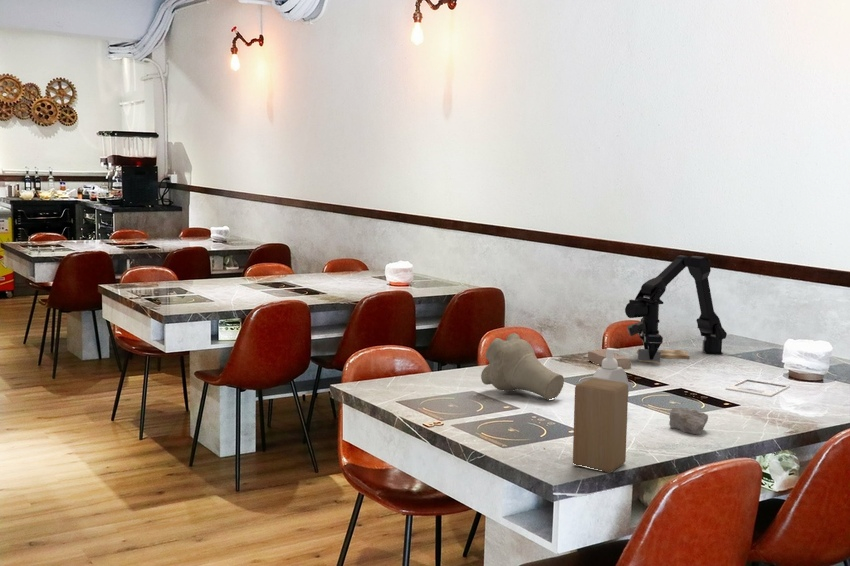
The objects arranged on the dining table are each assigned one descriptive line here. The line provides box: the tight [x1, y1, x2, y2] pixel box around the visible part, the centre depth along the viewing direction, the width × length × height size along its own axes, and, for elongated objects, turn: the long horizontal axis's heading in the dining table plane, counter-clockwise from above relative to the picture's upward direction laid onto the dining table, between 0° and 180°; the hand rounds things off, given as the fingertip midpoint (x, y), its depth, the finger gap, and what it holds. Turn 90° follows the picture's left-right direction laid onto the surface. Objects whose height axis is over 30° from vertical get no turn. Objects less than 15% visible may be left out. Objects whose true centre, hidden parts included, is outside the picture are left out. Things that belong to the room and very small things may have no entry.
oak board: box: [636, 348, 690, 360], centre depth 345 cm, size 18×11×1 cm, turn 86°
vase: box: [480, 332, 565, 401], centre depth 277 cm, size 22×22×28 cm
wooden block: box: [572, 377, 629, 473], centre depth 212 cm, size 10×10×20 cm
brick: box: [587, 348, 632, 370], centre depth 327 cm, size 17×8×5 cm, turn 25°
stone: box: [668, 407, 709, 435], centre depth 242 cm, size 10×8×6 cm
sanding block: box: [637, 348, 661, 363], centre depth 336 cm, size 8×5×4 cm, turn 79°
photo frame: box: [725, 378, 791, 398], centre depth 293 cm, size 15×1×18 cm
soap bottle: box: [591, 347, 630, 394], centre depth 255 cm, size 16×5×20 cm, turn 142°
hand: (649, 357), depth 336 cm, fingers open, 9 cm apart
